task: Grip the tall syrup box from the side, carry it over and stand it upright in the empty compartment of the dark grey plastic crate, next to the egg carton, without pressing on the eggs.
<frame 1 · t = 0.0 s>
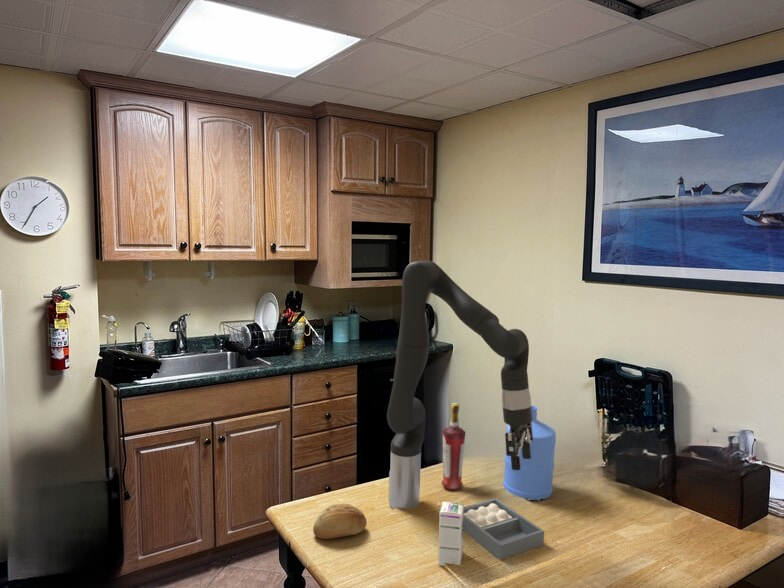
hand: (521, 464, 148), 22 cm above the table, tool pointing down, fingers open, 8 cm apart
liquor: (451, 487, 182), on the table
water jug: (527, 490, 181), on the table
crate: (497, 536, 153), on the table
egg carton: (486, 525, 157), point 1 cm above the table, touching crate
syrup box: (450, 561, 142), on the table
bread roll: (340, 534, 153), on the table
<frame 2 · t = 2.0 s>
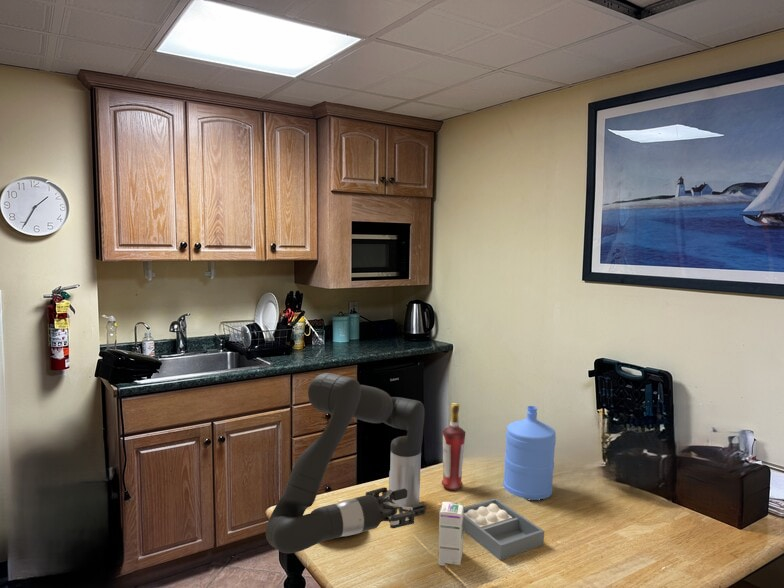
hand: (415, 500, 134), 19 cm above the table, tool horizontal, fingers open, 8 cm apart
nothing on the table moved.
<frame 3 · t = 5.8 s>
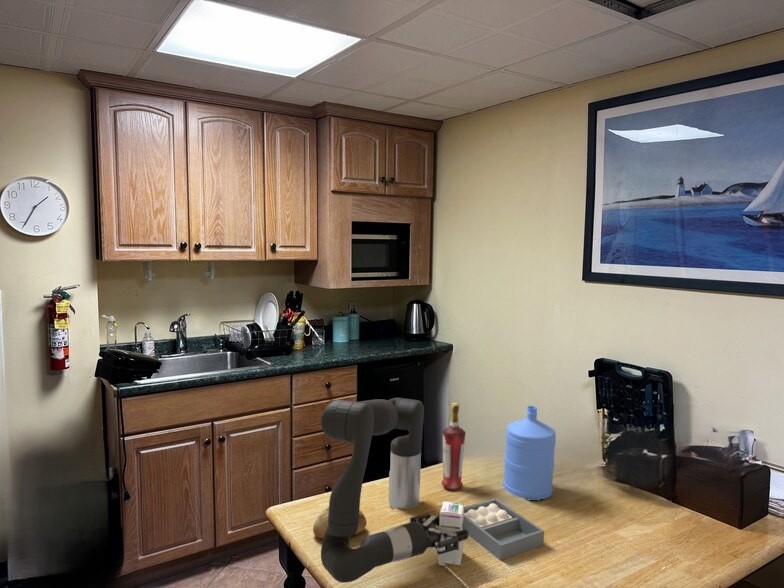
hand: (457, 525, 142), 9 cm above the table, tool horizontal, fingers closed on syrup box, 8 cm apart
syrup box: (450, 561, 142), on the table, touching gripper
everything else where it was.
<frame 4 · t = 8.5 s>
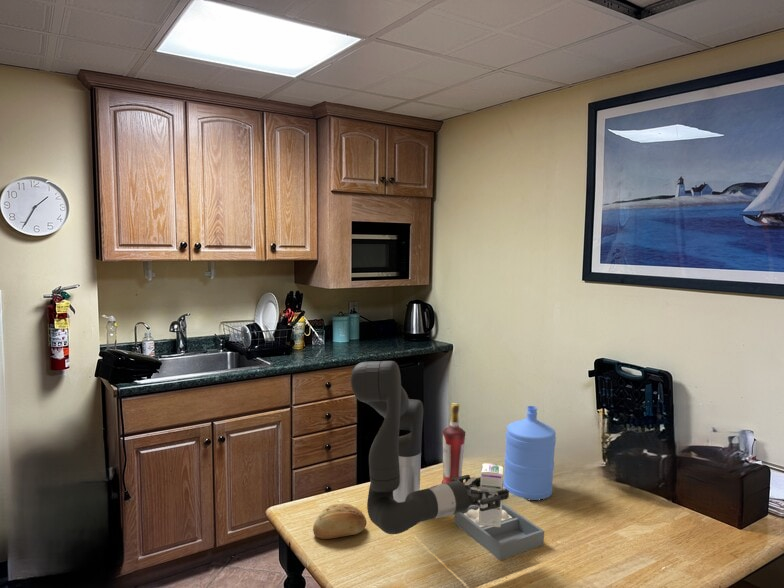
hand: (497, 486, 145), 18 cm above the table, tool horizontal, fingers closed on syrup box, 8 cm apart
syrup box: (489, 521, 145), point 9 cm above the table, touching gripper
everything else where it was.
when the fingers open (11 cm above the table, at t = 11.3 s): syrup box drops 1 cm, resting on crate.
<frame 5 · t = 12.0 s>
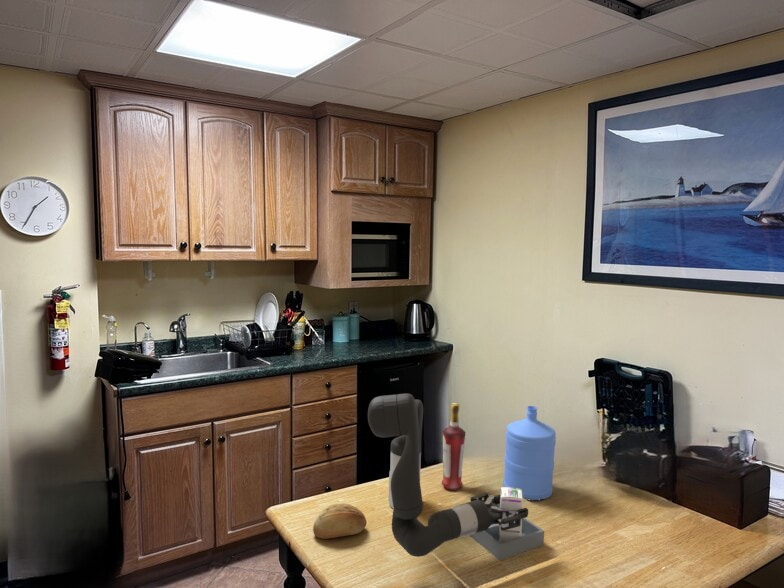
hand: (516, 504, 148), 11 cm above the table, tool horizontal, fingers open, 8 cm apart
syrup box: (509, 543, 149), point 1 cm above the table, touching crate, gripper
everything else where it was.
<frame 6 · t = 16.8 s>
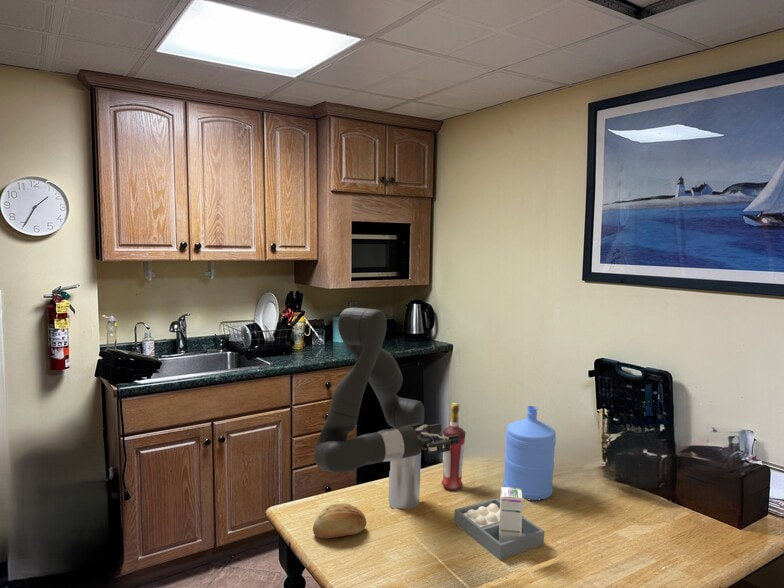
hand: (449, 433, 143), 32 cm above the table, tool horizontal, fingers open, 8 cm apart
syrup box: (509, 543, 149), point 1 cm above the table, touching crate
everything else where it was.
at the end: syrup box inside the target area on the crate (0.3 cm from its centre), point 0.8 cm above the crate's base; syrup box tilted 0°; egg carton moved 0.0 cm from its start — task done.
